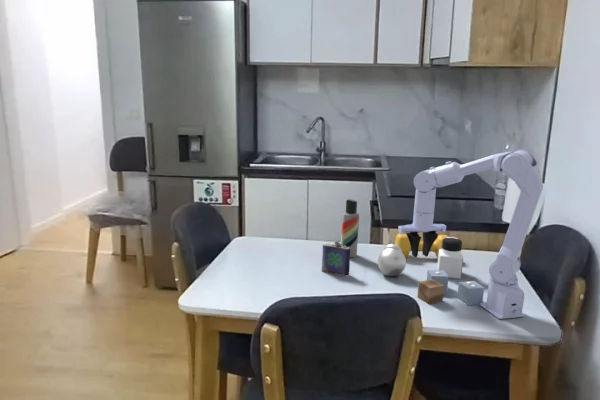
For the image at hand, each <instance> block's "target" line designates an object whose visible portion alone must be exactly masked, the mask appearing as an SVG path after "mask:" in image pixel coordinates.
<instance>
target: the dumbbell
mask: <svg viewBox="0 0 600 400" xmlns="http://www.w3.org/2000/svg"><path fill="white" fill-rule="evenodd" d="M447 237H449V236H448V235H447V234H438V238H437V239H436V240H435V242H434V243H433V245H432V247H431V249H430V251H429V253H431V252H433V253H434V254H435V256H436V258H438V255H439V249H442V240H443V239H444V238H447ZM394 244H395V245H396V246H399V247H400V248H401V249H402V253H403V254H404V256H405V259H407V258H409V254H410V253H411V252H412V250H411V245H410V242H409V239H408V237H407V235H406V233H404V234H400V233H397V234H396V237H395V240H394ZM422 250H423V240H422V241H421V240H420V243H419V247H418V252H422Z"/></svg>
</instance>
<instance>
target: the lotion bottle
mask: <svg viewBox="0 0 600 400" xmlns="http://www.w3.org/2000/svg"><path fill="white" fill-rule="evenodd" d="M341 219H342V224H341V238H340V239H341V241H340V244H341V245H343V246H344V245H345V246H346V247H349V248H350V259H351V258H355V257H357V254H358V241H359V226H360V225H359V223H360V213H358V200H355V199H349V198H347V200H346V201H345V211H344V212H343V213H342V218H341Z"/></svg>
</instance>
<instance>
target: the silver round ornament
mask: <svg viewBox="0 0 600 400" xmlns="http://www.w3.org/2000/svg"><path fill="white" fill-rule="evenodd" d="M377 265H378V268H379V271H380V272H381V273H383V274H384V275H385V276H388V277H395V276H398V275H401V274H402V272H403V271H404V270H405V268H406V265H407V258H405V256H404V254H403V253H402V249H401V248H400V247H399V246H396V245H395V243H389V244H387V245H385V246H384V249H383V251H381V252H380V253H379V256H378V258H377Z"/></svg>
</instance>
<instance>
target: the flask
mask: <svg viewBox="0 0 600 400" xmlns="http://www.w3.org/2000/svg"><path fill="white" fill-rule="evenodd" d="M333 243H334V244H332V243H323V244H322V255H321V256H322V258H321V271H322V272H324V273H330V274H334V275H335V274H336V275H339V276H345V277H346V276H350V268H351V267H350V261H351V258H350V248H349V247H346V246H345V245H344V246H343V245H341V241H340V240H339V239H338V240H334V241H333Z"/></svg>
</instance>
